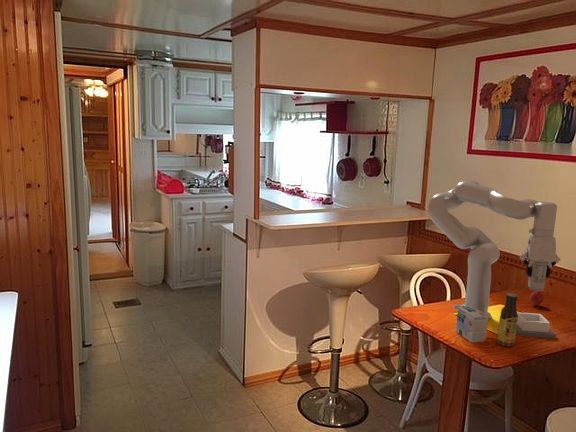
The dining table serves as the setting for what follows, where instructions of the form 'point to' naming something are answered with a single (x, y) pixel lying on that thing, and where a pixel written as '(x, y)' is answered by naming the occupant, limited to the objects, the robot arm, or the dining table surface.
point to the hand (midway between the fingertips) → (537, 275)
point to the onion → (536, 298)
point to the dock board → (533, 326)
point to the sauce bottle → (508, 321)
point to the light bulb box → (471, 324)
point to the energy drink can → (538, 275)
